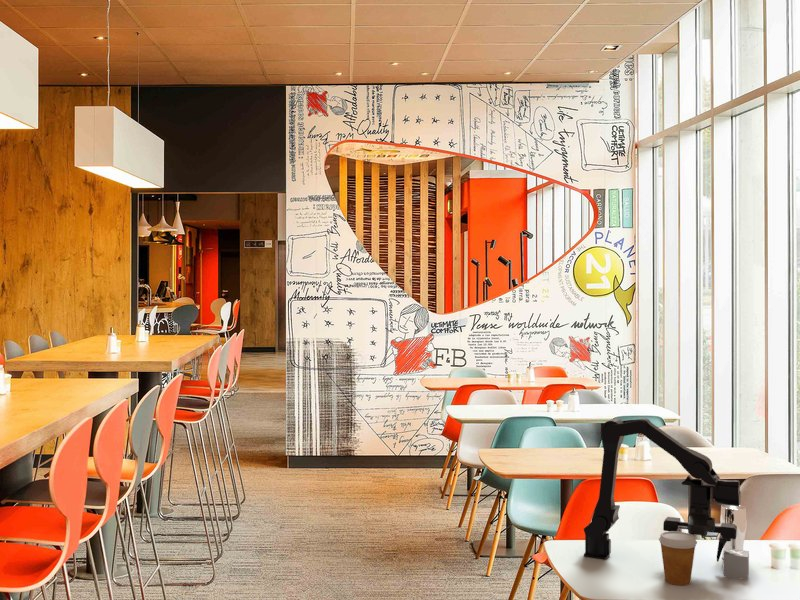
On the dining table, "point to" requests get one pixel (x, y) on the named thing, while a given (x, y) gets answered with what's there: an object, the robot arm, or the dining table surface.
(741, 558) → the grey cube
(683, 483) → the robot arm
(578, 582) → the dining table surface
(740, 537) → the beer glass
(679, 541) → the disposable coffee cup
